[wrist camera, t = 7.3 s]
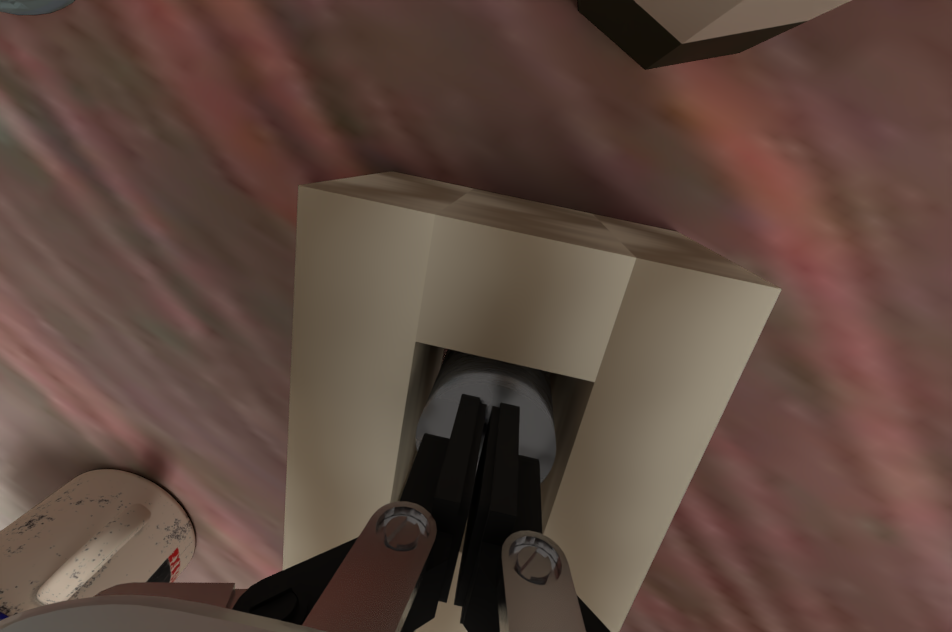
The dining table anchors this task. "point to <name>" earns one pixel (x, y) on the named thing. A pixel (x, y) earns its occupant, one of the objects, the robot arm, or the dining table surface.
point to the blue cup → (32, 6)
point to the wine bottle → (696, 25)
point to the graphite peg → (494, 402)
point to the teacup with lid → (93, 541)
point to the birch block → (514, 341)
